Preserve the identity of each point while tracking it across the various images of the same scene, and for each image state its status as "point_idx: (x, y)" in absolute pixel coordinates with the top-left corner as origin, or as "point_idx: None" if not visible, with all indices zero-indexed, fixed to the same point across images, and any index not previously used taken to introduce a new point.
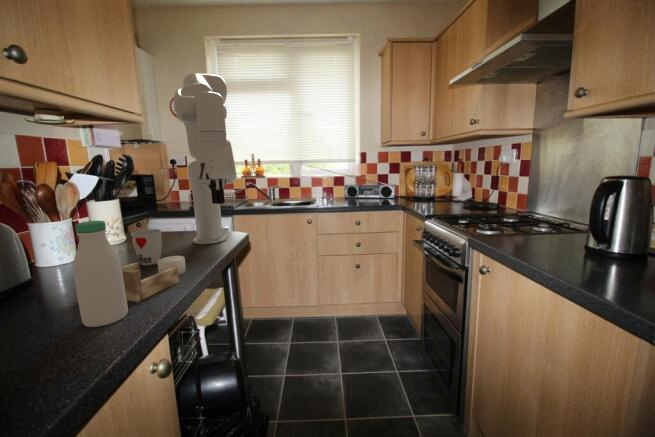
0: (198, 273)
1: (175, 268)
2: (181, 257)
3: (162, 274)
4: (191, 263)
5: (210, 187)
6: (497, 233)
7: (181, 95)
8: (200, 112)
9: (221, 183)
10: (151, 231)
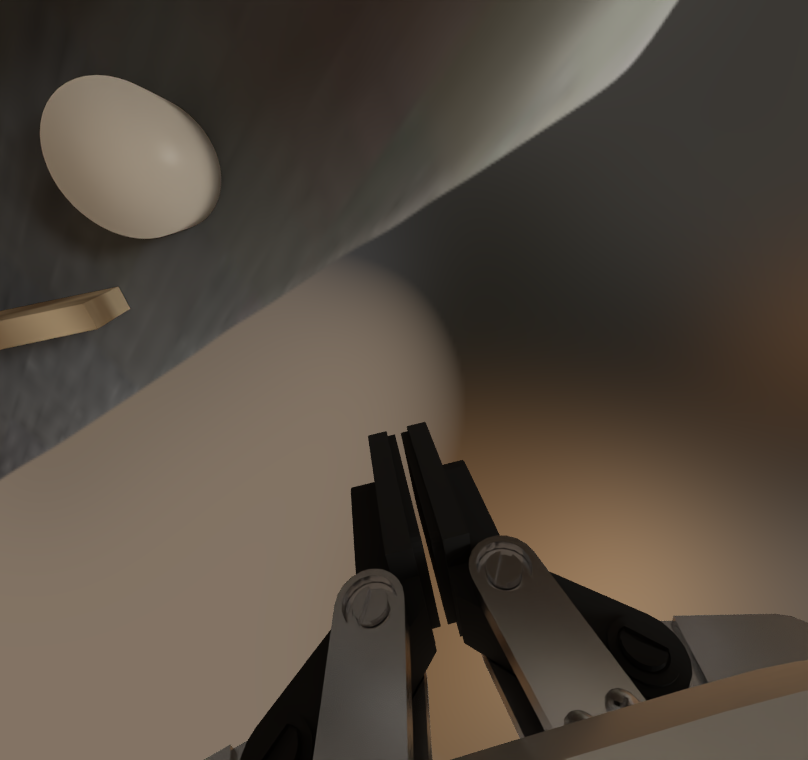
0: (232, 293)
1: (87, 330)
2: (186, 187)
3: (14, 345)
4: (289, 130)
5: (316, 665)
6: None
7: None
8: None
9: (512, 717)
10: None
